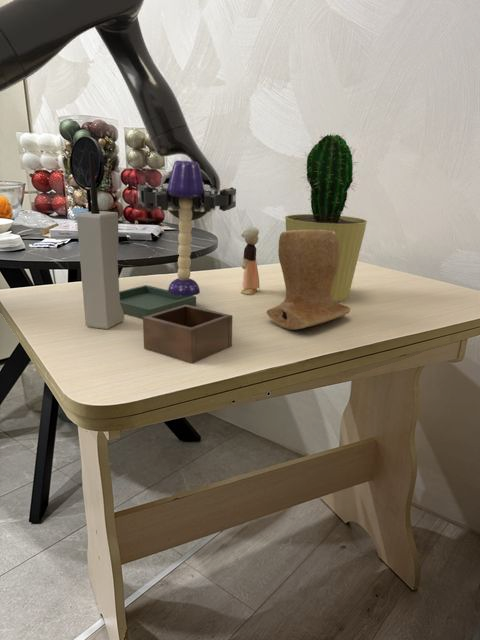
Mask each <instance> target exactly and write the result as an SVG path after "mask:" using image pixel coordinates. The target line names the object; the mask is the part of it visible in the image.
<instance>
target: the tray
mask: <svg viewBox="0 0 480 640" xmlns="http://www.w3.org/2000/svg"><path fill="white" fill-rule="evenodd" d="M119 294H120V304H121V307H122V310H123V313H124V315H128V316H130V317H135V318H139V319H143V317H145V316H149V315H152V314H155V313H159V312H162V311H165V310H169V309H172V308H175V307H179V306H182V305H185V304H186V305H190V306H195V307H197V295H193V296H177V295H173V294H170V293H169V292H168V289H165V288H161V287H155V286H153V285H147V284H144V285H140V286H136V287H131V288H128V289H124V290H119Z"/></svg>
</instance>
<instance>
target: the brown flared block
mask: <svg viewBox="0 0 480 640" xmlns="http://www.w3.org/2000/svg"><path fill="white" fill-rule="evenodd" d="M277 253H278V255H277V256H278V261H279V264H280V268H281V272H282V276H283V281H284V286H285V299H284V300H283V301H282V302H281V303H280V304H278V305H277V306H274V307H271V308H269V309H267V310H266V315H267V316H268V317H269V318H270V319H271V320H272V321H273V322H274V323H275V324H277V325H278V326H280V328H282V329H283V328H284V329H286V330H290V331H291V330H293V331H294V330H295V331H296V330H301V329H305V328H310V327H313V326H316V325H320V324H324V323H327V322H329V321H332V320H335V319H339V318H340V317H343V316H345V315H347V314H350V312H351V309H352V308H350V307H349V306H347V305H344V304H342V303H339V302H335V301H333V299H332V296H331V290H332V285H333V281H334V278H335V275H336V272H337V268H338V262H339V242H338V237H337V234H336V233H335V232H334V231H327V230H292V231H286V230H285V231H282V232H281V233H280V234H279V238H278V251H277Z"/></svg>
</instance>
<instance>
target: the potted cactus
mask: <svg viewBox="0 0 480 640" xmlns="http://www.w3.org/2000/svg"><path fill="white" fill-rule="evenodd" d="M318 140H319V139H318ZM310 142H311V146H312V147H311V149H310V150H309V152H308V153H307V152H306V151H303V152H304V156H306V158H307V159H306V163H304V164H302V165H303V166H306V167H304V170H305V171H306V172H305V171H303V172H302V173H303V174H305V173H306V178H305V176H302V179H303V178H304V179H303V180H305V181H304V183H305V182H307V183H308V185H309V186H306V189H307V190H306V191H307V192H309V189H308V188H309V187H310V193H308V194H307V196H308V195H309V202H310V208H311V211H309V213H299V214H288V215H285V216H284V219H285V231H292V230H327V231H334V232H335V233H336V234H337V237H338V242H339V262H338V268H337V272H336V275H335V278H334V281H333V285H332V290H331V296H332V299H333V301H335V302H337V303H339V302H343V301H346V300H347V299H348V298H349V295H350V292H351V289H352V284H353V281H354V280H353V279H354V276H355V271H356V268H357V265H358V260H359V256H360V252H361V249H362V244H363V239H364V237H365V232H366V227H367V223H368V221H367V219H363V218H360V217H355V216H354V217H353V216H346V215H344V213H343V211H344V208H346V209H348V210H349V207H348V206H347V205H346V204H348V201H347V200H348V195H350V194H348V191H349V190H350V189H353V191H354V192H356V190H355V189H354V188H356V186H355V185H356V183H355V182H354V177H353V176H354V172H353V170H354V167H355V166H356V164H359V162H357V161H353V156H354V154H355V152H353V151H356V148H354V149H353V147H350V145H348V144H347V140H346V138H344V134H342V136H341V135H340V133H338V134H333V133H332V132H330V134H327V135H325V134H323V136H322V135H320V140H319V141H315V140H314V142H316V144H314V143H313V141H312V140H310ZM351 150H352V151H351ZM356 172H358V171H355V173H356ZM353 187H354V188H353Z"/></svg>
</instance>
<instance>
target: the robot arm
mask: <svg viewBox="0 0 480 640" xmlns="http://www.w3.org/2000/svg"><path fill="white" fill-rule="evenodd" d="M144 1H145V0H12V1H9V2H8V3H5V4H3V5H1V6H0V93H1V92H3V91H5V90H7V89H8V88H11V87H13V86H15V85H17V84H19V83H20V82H22V81H24V80H26V79H28V78H30V77H31V76H32V75H34V74H35V73H37V72H38V71H39V70H41V69H42V68H43V67H45V66H46V65H47V64H48V63H49V62H51V60H53V59H54V58H55V57H56V56H57V55H58V54H60V52H62V51H63V49H65V47H67V46H68V45H69V44H70V43H71V42H72V41H74V40H75V39H76V38H77V37H79V36H81V35H82V34H84V33H86V32H87V31H89V30H91V29H94V30H96V33H97V34H98V35H99V38H100V39H101V40H102V42H103V43H104V45H105V47H106V49H107V51H108V52H109V55H110V56H111V57H112V59H113V61H114V63H115V65H116V67H117V68H118V71H119V72H120V74H121V76H122V79H123V80H124V83H125V84H126V86H127V88H128V89H127V90H129V93H130V96H131V98H132V99H133V102H134V105H135V107H136V109H137V111H138V114H139V116H140V118H141V121H142V123H143V125H144V128H145V131H146V133H147V136H148V137H149V140H150V142H151V144H152V147H153V149H154V151H155V152H156V154H157V156H159V157H171V156H175V155H184V156H187V158H189V159H190V161H192V162H197V163H198V164H199V168H200V172H201V177H202V182H203V187H204V196H203V197H192V200H193V204H192V207H191V210H192V219H191V221H196V220H199V219H201V218H203V217H204V216H205V215H207V213H211V212H213V211H215V210H216V207H218V208H219V209H218V210H220V211H222V212H226V211H229V210H232V209H234V208H236V206H237V202H236V201H237V188H235V187H232V186H231V187H228V188H222V189H221V178H220V175H219V173H218V172H217V170H216V169H215V167H214V166H213V164H212V163H211V162H210V161H209V159H208V158H207V157H206V155H205V154H204V153H203V151H202V150H201V148H200V147H199V145H198V144H197V142H196V140H195V138H194V137H193V134H192V132H191V130H190V128H189V125H188V122H187V120H186V117H185V116H184V112H183V111H182V107H181V105H180V103H179V101H178V98H177V96H176V94H175V93H174V91H173V89H172V87H171V86H170V84H169V83H168V81H167V80H166V78H165V77H164V76H163V74H162V73H161V71H160V70H159V68H158V67H157V65H156V64H155V61H154V60H153V57H152V56H151V54H150V52H149V50H148V46H147V45H146V42H145V40H144V39H145V38H144V36H143V33H142V29H141V24H140V21H139V13H140V11H141V9H142V7H143V5H144ZM171 173H172V170H170V171H167V172H166V173H163V175H162V176H161V179H160V185H159V186H157V188H156V190H154V187H152V185H147V184H145V183H139V184H137V203H138V205H140V206H142V207H144V208H146V209H151V208H154V206H155V207H156V208H157V209H160V211H166V212H167V211H168V212H169V213H170V214H171V215H172V216H173V217H175V218H176V219H178V220H180V218H179V210H180V206H179V198H180V196H172V195H169V194H168V193H167V188H168V184H169V180H170V176H171Z"/></svg>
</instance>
